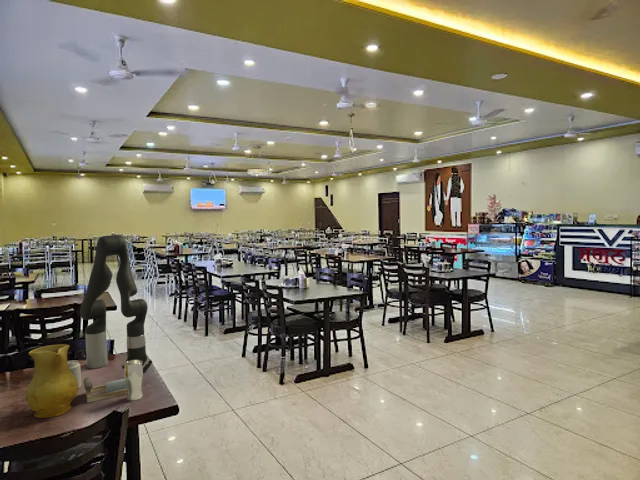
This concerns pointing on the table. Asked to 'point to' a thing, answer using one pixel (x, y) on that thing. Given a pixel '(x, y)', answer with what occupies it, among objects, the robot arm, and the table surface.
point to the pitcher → (51, 382)
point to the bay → (92, 389)
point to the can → (75, 370)
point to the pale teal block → (115, 385)
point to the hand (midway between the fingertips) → (138, 383)
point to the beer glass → (133, 379)
